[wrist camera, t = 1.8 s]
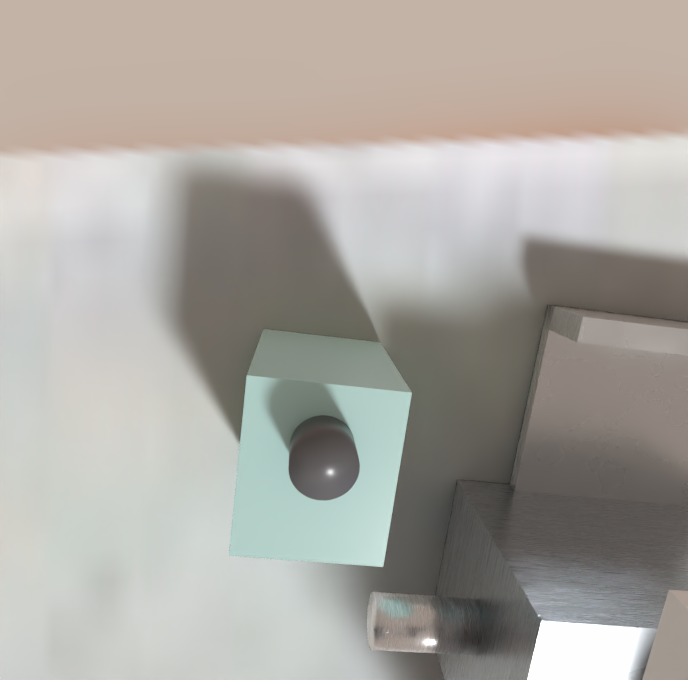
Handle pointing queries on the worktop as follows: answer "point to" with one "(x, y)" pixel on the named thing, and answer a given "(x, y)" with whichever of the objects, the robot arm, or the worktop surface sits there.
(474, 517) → the motor
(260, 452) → the block
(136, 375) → the worktop surface
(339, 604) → the worktop surface
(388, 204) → the worktop surface
